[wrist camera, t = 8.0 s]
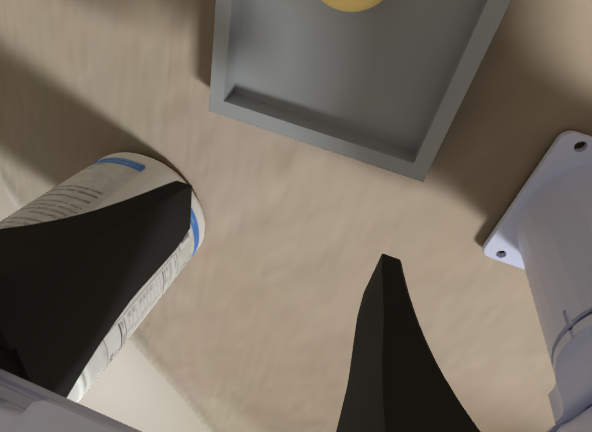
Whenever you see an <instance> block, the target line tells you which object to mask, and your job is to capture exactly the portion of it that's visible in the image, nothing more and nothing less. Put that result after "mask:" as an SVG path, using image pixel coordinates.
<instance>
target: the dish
mask: <svg viewBox="0 0 592 432" xmlns="http://www.w3.org/2000/svg"><path fill="white" fill-rule="evenodd" d="M510 2H511V0H383V1H381V2H380V3H378V4H377V5H375V6H373V7H371V8H369V9H366V10H363V11H358V12H345V11H340V10H337V9H334V8H332V7H330V6H328V5H327V4H325V3H324V2H323V1H322V0H216V3H215V19H214V35H213V51H212V67H211V83H210V99H209V111H211V112H214V113H217V114H220V115H223V116H226V117H229V118H232V119H235V120H238V121H241V122H244V123H247V124H250V125H253V126H256V127H259V128H262V129H265V130H268V131H271V132H274V133H277V134H280V135H283V136H286V137H289V138H292V139H295V140H298V141H301V142H305V143H308V144H311V145H314V146H317V147H320V148H323V149H326V150H329V151H332V152H335V153H338V154H341V155H344V156H347V157H350V158H353V159H356V160H359V161H362V162H365V163H368V164H371V165H374V166H377V167H380V168H383V169H386V170H389V171H392V172H395V173H398V174H401V175H404V176H407V177H410V178H413V179H416V180H419V181H422V182H423V181H424V179H425V177H426V175H427V173H428V171H429V169H430V167H431V165H432V163H433V160H434V158H435V156H436V154H437V152H438V150H439V148H440V146H441V144H442V142H443V140H444V138H445V136H446V134H447V132H448V130H449V128H450V126H451V123H452V121H453V119H454V117H455V115H456V113H457V111H458V109H459V107H460V105H461V103H462V101H463V99H464V97H465V95H466V93H467V91H468V88H469V86H470V84H471V82H472V80H473V78H474V76H475V74H476V72H477V70H478V68H479V66H480V64H481V62H482V60H483V58H484V56H485V54H486V51H487V49H488V47H489V45H490V43H491V41H492V39H493V37H494V35H495V33H496V31H497V29H498V27H499V25H500V23H501V21H502V19H503V16H504V14H505V12H506V10H507V8H508V6H509V4H510Z"/></svg>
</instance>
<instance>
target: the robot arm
mask: <svg viewBox="0 0 592 432" xmlns="http://www.w3.org/2000/svg"><path fill="white" fill-rule="evenodd" d="M581 141H582V142H585V144H584V146H583V147H582V148H579V149H575V148H574V146H575V144H577V143H578V142H581ZM191 199H192V186H191V185H189V184H186V183H183V182H180V181H174V182H171V183H168V184H165V185H163V186H160V187H158V188H155V189H153V190H150V191H148V192H145V193H142V194H140V195H137V196H135V197H132V198H129V199H127V200H124V201H121V202H118V203H115V204H112V205H109V206H106V207H103V208H100V209H97V210H94V211H90V212H87V213H83V214H79V215H75V216H71V217H67V218H63V219H58V220H53V221H47V222H42V223H37V224H31V225H25V226H18V227H10V228H2V229H0V432H141V431H139V430H137V429H134V428H132V427H130V426H128V425H125V424H123V423H121V422H119V421H116V420H114V419H112V418H110V417H107V416H105V415H103V414H101V413H99V412H96V411H94V410H92V409H89V408H87V407H85V406H83V405H80V404H78V403H76V402H74V401H72V400H69V399H67V397H68V395H69V393H70V392H71V390H72V388H73V387H74V385H75V383H76V382H77V380H78V378H79V377H80V375H81V373H82V372H83V370H84V368H85V367H86V365H87V364H88V362H89V361H90V359H91V358H92V356H93V354H94V353H95V351H96V350H97V348H98V347H99V345H100V344H101V342H102V341H103V339H104V338H105V336H106V335H107V333H108V332H109V330H110V329H111V328H112V326H113V325H114V323H115V322H116V320H117V319H118V318H119V316H120V315H121V313H122V312H123V311H124V309H125V308H126V307H127V305H128V304H129V302H130V301H131V300H132V299H133V297H134V296H135V295H136V294H137V293H138V291H139V290H140V289H141V288H142V287H143V286H144V285H145V284H146V282H147V281H148V280H149V279H150V278H151V277H152V276H153V275H154V274H155V273H156V271H157V270H158V269H159V268H160V267H161V266H162V265H163V264H164V263H165V261H166V260H167V259H168V258H169V257H170V256H171V255H172V254H173V252H174V251H175V250H176V249H177V247H178V246H179V245H180V243H181V242H182V240H183V239H184V237H185V236H186V234H187V233H188V231H189V229H190V224H191ZM482 248H483V253H484V255H486V256H487V257H490V258H493V259H496V260H498V261H501V262H504V263H507V264H510V265H513V266H516V267H519V268H522V269H524V270H525V271H526V274H527V278H528V281H529V285H530V288H531V292H532V295H533V299H534V303H535V306H536V310H537V313H538V317H539V320H540V324H541V327H542V331H543V335H544V338H545V342H546V345H547V349H548V352H549V356H550V359H551V363H552V367H553V370H554V374H555V379H556V384H555V387H554V389H553V390H552V391H551V392H550V393H549V395H548V396H549V400H550V404H551V408H552V412H553V416H554V420H555V423H556V425H555V426H553V427H552V428H550V429H549V430H547V431H546V432H592V136H590V135H586V134H583V133H580V132H576V131H565V132H563V133H561V134H560V135H559V136H558V137H557V138H556V139H555V141H554V142H553V144H552V145H551V147H550V148H549V150H548V151H547V153H546V154H545V155H544V157H543V158H542V160H541V161H540V163H539V164H538V166H537V167H536V169H535V170H534V171H533V173H532V174H531V176H530V177H529V179H528V180H527V182H526V183H525V185H524V186H523V188H522V189H521V190H520V192H519V193H518V195H517V196H516V198H515V199H514V201H513V202H512V204H511V205H510V206H509V208H508V209H507V211H506V212H505V214H504V215H503V217H502V218H501V220H500V221H499V223H498V224H497V225H496V227H495V228H494V230H493V231H492V233H491V234H490V236H489V237H488V239H487V240H486V241H485V243H484V244H483V247H482ZM498 251H505V252H504V253H501V254H499V253H497V252H498ZM336 432H480V431H479V429H478V428H477V427H476V425H475V424H474V422H473V421H472V420H471V418H470V417H469V415H468V414H467V412H466V411H465V409H464V408H463V407H462V405H461V404H460V402H459V400H458V399H457V397H456V396H455V394H454V392H453V391H452V389H451V387H450V386H449V384H448V382H447V381H446V379H445V378H444V376H443V374H442V372H441V370H440V368H439V367H438V365H437V363H436V361H435V359H434V357H433V355H432V353H431V351H430V349H429V346H428V344H427V342H426V340H425V337H424V335H423V332H422V330H421V327H420V325H419V322H418V320H417V317H416V314H415V311H414V308H413V305H412V302H411V299H410V296H409V292H408V289H407V285H406V281H405V277H404V273H403V269H402V264H401V261H400V260H399V259H396V258H394V257H391V256H388V255H385V254H382V255H381V257H380V260H379V262H378V264H377V266H376V268H375V270H374V272H373V274H372V277H371V279H370V281H369V283H368V285H367V287H366V289H365V291H364V294H363V298H362V302H361V305H360V309H359V313H358V317H357V323H356V330H355V337H354V344H353V352H352V359H351V366H350V374H349V380H348V385H347V390H346V394H345V398H344V402H343V407H342V411H341V415H340V419H339V423H338V427H337V431H336Z"/></svg>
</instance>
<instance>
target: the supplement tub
mask: <svg viewBox="0 0 592 432" xmlns="http://www.w3.org/2000/svg"><path fill="white" fill-rule="evenodd" d="M174 181H180V182H183V183H186V182H185V181H184V180H183V179H182V178H181V177H180V176H179V175H178V174H177V173H176V172H175V171H173V170H172V169H171V168H169V167H168V166H166V165H165V164H163V163H161V162H159V161H157V160H155V159H153V158H150V157H147V156H144V155H141V154H137V153H129V152H120V153H114V154H110V155H107V156H105V157H103V158H101V159H99V160H98V161H96V162H94V163H93V164H91V165H89V166H88V167H86V168H85V169H83V170H82V171H80V172H78V173H77V174H75V175H74V176H72V177H70V178H69V179H67V180H66V181H64V182H62V183H61V184H59V185H58V186H56V187H54V188H53V189H51V190H50V191H48V192H46V193H45V194H43V195H42V196H40V197H39V198H37V199H35V200H34V201H32V202H31V203H29V204H27V205H26V206H24V207H23V208H21V209H19V210H18V211H16V212H15V213H13V214H11V215H10V216H8V217H7V218H5V219H4V220H2V221H1V222H0V229H2V228H10V227H18V226H25V225H31V224H37V223H42V222H47V221H53V220H58V219H63V218H67V217H71V216H75V215H79V214H83V213H87V212H90V211H94V210H97V209H100V208H103V207H106V206H109V205H112V204H115V203H118V202H121V201H124V200H127V199H129V198H132V197H135V196H137V195H140V194H142V193H145V192H148V191H150V190H153V189H155V188H158V187H160V186H163V185H165V184H168V183H171V182H174ZM186 184H187V183H186ZM204 232H205V221H204V215H203V211H202V208H201V206H200V204H199V201H198V199H197V197H196V196H195V194H194V192H193V191H192V199H191V224H190V229H189V231H188V233H187V234H186V236H185V237H184V239H183V240H182V242H181V243H180V245H179V246H178V247H177V249H176V250H175V251H174V252H173V254H172V255H171V256H170V257H169V258H168V259H167V260H166V261H165V263H164V264H163V265H162V266H161V267H160V268H159V269H158V270H157V271H156V273H155V274H154V275H153V276H152V277H151V278H150V279H149V280H148V281H147V282H146V284H145V285H144V286H143V287H142V288H141V289H140V290H139V291H138V293H137V294H136V295H135V296H134V297H133V299H132V300H131V301H130V302H129V304H128V305H127V307H126V308H125V309H124V311H123V312H122V313H121V315H120V316H119V318H118V319H117V320H116V322H115V323H114V325H113V326H112V328H111V329H110V330H109V332H108V333H107V335H106V336H105V338H104V339H103V341H102V342H101V344H100V345H99V347H98V348H97V350H96V351H95V353H94V354H93V356H92V358H91V359H90V361H89V362H88V364H87V365H86V367H85V368H84V370H83V372H82V373H81V375H80V377H79V378H78V380H77V382H76V383H75V385H74V387H73V388H72V390H71V392H70V393H69V395H68V397H67V399H69V400H72V401H74V402H76V403H77V402H78V401H80V400H81V399H82V397H83V396H84V393H86V392H87V391H88V390H89V388H90V387H91V386H92V385H93V383H94V382H95V381H96V379H97V378H98V377H99V376H100V374H101V373H102V372H103V371H104V370H105V368H106V367H107V366H108V364H109V363H110V362H111V361H112V359H113V358H114V357H115V355H116V354H117V353H118V352H119V350H120V349H121V348H122V346H123V345H124V344H125V343H126V341H127V340H128V339H129V338H130V336H131V335H132V334H133V332H134V331H135V330H136V329H137V327H138V326H139V325H140V323H141V322H142V321H143V319H144V318H145V317H146V316H147V314H148V313H149V312H150V310H151V309H152V308H153V307H154V305H155V304H156V303H157V301H158V300H159V299H160V298H161V296H162V295H163V294H164V292H165V291H166V290H167V289H168V287H169V286H170V285H171V283H172V282H173V281H174V279H175V278H176V277H177V276H178V274H179V273H180V272H181V270H182V269H183V268H184V266H185V265H186V264H187V263H188V261H189V260H190V259H191V257H192V256H193V255H194V253H195V252H196V251H197V250H198V248H199V246H200V245H201V243H202V240H203V237H204Z"/></svg>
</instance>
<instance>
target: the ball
mask: <svg viewBox="0 0 592 432" xmlns="http://www.w3.org/2000/svg"><path fill="white" fill-rule="evenodd" d="M322 1H323V2H324V3H325V4H327V5H328V6H330V7H332V8H334V9H337V10H340V11H345V12H358V11H363V10H366V9H369V8H371V7H373V6H375V5H377V4H378V3H380V2H381V1H383V0H322Z"/></svg>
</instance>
